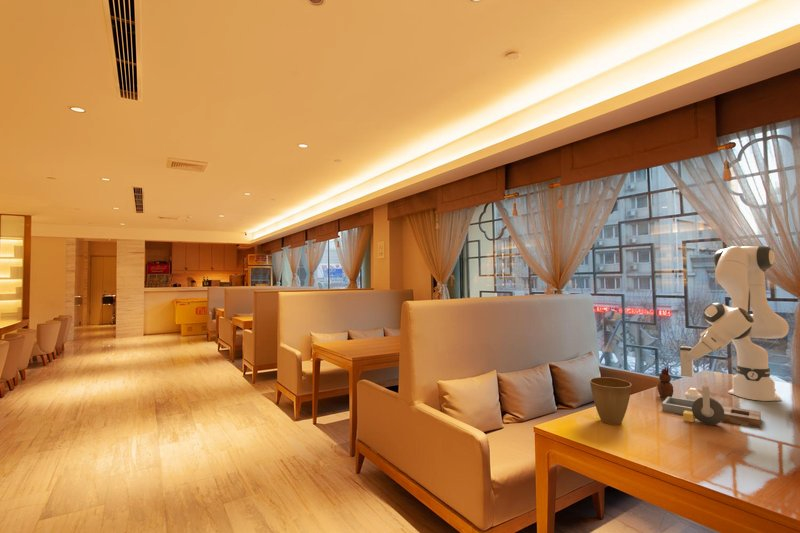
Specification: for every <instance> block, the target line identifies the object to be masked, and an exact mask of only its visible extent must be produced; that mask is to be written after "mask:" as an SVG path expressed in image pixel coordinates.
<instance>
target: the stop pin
mask: <svg viewBox="0 0 800 533" xmlns="http://www.w3.org/2000/svg"><path fill="white" fill-rule="evenodd" d="M693 347H694V346H688V345H687V346H685V345H681V346H680V348H679V350H680V351H679V356H680V376H681V377H687V378H693V377H694V359H692V360H690V361H688V362H687V363H685V362H684V361H683V359H684V358H685V357H686V356H688V353H689V351H690V350H691V349H692V348H693Z"/></svg>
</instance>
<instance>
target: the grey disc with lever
mask: <svg viewBox="0 0 800 533" xmlns="http://www.w3.org/2000/svg"><path fill="white" fill-rule="evenodd" d="M701 390H702V392H701V393H702V396H701V398H698V399H697V400H695V402H694V403H693V405H692V412H691V411H684V412H683V414H682V415H683V416H682V418H683V420H682V421H685V422H688V423H689V422H690V423H694V422H695V420H698V421H699V422H700V423H702V424H704V425H710V426H714V425H718V424H720V423H721V422H723V421H722V420H723V417H724V409H723V407H722V406H723V405H722V404H721V403H720V402H719V401H718V400H716V399H714V398H712V397H711V396H710V387H709V386H702V388H701Z"/></svg>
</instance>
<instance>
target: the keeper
mask: <svg viewBox="0 0 800 533" xmlns="http://www.w3.org/2000/svg"><path fill="white" fill-rule="evenodd" d="M722 407H723V409H724V417H723V420H722V421H721V422H726V423H729V424H731V423H732V424H737V425H742V426H748V427H754V428H761V421H762V420H761V418H762V417H761V411H759V410H758V411H757V410H753V409H752V410H751V409H744V408H739V407H733V406H729V405H728V406H726V405H722Z"/></svg>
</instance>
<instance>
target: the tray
mask: <svg viewBox="0 0 800 533" xmlns="http://www.w3.org/2000/svg"><path fill="white" fill-rule="evenodd" d="M694 402H695V401H694V400H687V398H680V397H674V396H672V397H669V396H668V397H667V398H664V400H663V401H662V403H661V411H664V412H668V413H676V414H679V415H683V412H684V411H691V412H692V405H693V403H694Z"/></svg>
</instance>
